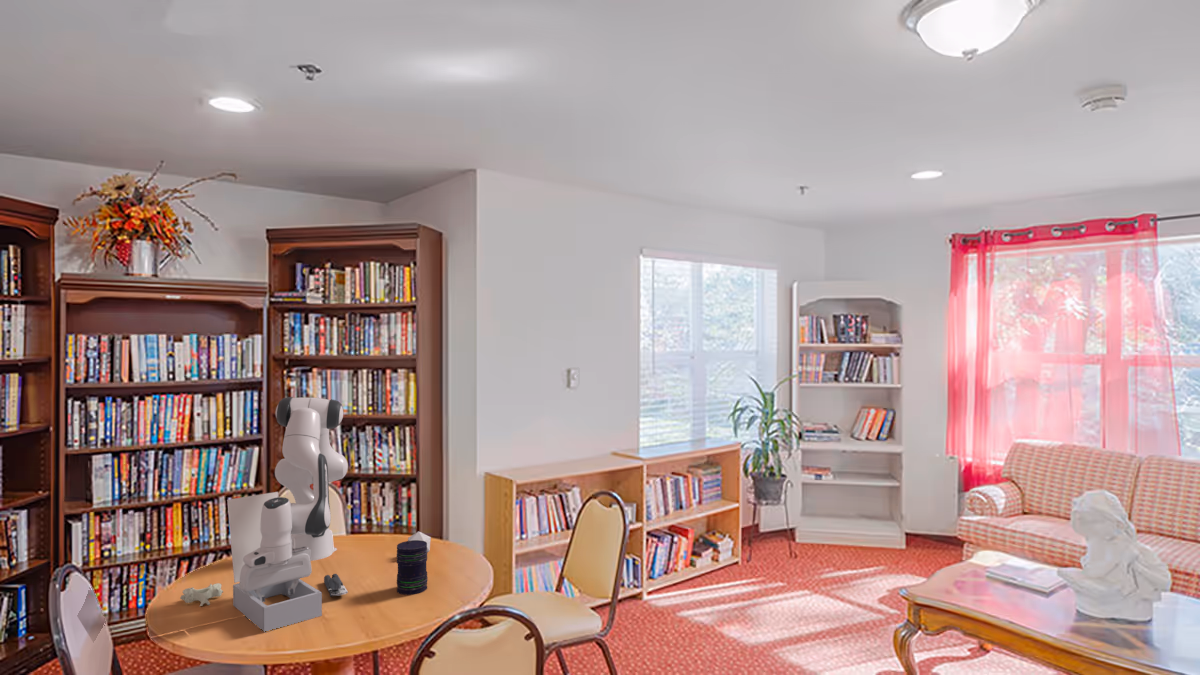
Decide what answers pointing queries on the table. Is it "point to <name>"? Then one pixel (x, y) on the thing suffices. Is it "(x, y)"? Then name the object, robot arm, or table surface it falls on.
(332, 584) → the can opener
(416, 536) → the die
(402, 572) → the dark blue barrel
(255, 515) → the lid
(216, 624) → the table surface
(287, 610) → the duct
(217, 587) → the spine bone
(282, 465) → the robot arm
